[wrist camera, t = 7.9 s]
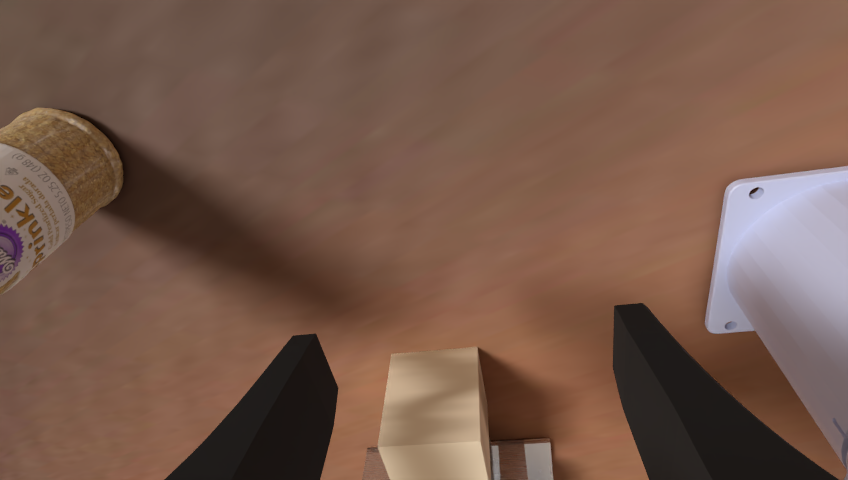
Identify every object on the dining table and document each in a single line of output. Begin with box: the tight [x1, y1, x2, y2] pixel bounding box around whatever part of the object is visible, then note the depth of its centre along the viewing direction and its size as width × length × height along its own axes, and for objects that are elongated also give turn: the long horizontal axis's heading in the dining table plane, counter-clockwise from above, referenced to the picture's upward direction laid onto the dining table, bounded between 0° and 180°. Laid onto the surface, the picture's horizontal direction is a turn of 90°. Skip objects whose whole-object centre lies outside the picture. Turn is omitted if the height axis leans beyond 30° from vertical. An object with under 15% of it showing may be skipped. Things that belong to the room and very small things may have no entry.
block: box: [378, 347, 491, 480], centre depth 26 cm, size 4×4×6 cm
